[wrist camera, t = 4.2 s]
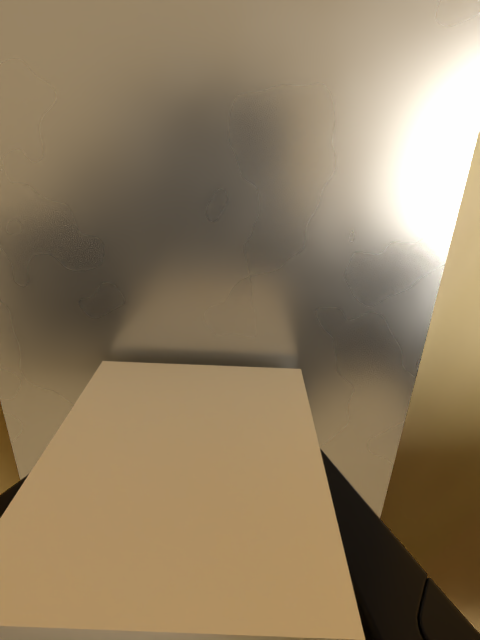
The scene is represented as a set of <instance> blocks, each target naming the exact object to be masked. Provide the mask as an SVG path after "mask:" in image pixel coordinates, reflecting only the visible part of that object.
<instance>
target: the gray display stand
mask: <svg viewBox="0 0 480 640" xmlns="http://www.w3.org/2000/svg"><path fill="white" fill-rule="evenodd" d="M479 128H480V0H0V402H1V406H2V410H3V414H4V418H5V421H6V425H7V429H8V433H9V437H10V441H11V445H12V449H13V453H14V457H15V461H16V465H17V469H18V473H19V477H20V480H21V479H23V478H24V477H25V476H27V475H28V474H29V473H30V472H31V470H32V469H33V467H34V466H35V464H36V463H37V461H38V460H39V458H40V457H41V455H42V453H43V452H44V450H45V449H46V447H47V446H48V444H49V443H50V441H51V440H52V438H53V437H54V435H55V433H56V432H57V430H58V429H59V427H60V426H61V424H62V423H63V421H64V420H65V418H66V417H67V415H68V413H69V412H70V410H71V409H72V407H73V406H74V404H75V403H76V401H77V400H78V398H79V397H80V395H81V393H82V392H83V390H84V389H85V387H86V386H87V384H88V383H89V381H90V380H91V378H92V377H93V375H94V373H95V372H96V370H97V369H98V367H99V366H100V364H101V363H102V361H114V362H139V363H165V364H190V365H215V366H241V367H266V368H291V369H301V371H302V375H303V380H304V384H305V388H306V392H307V396H308V401H309V405H310V409H311V413H312V417H313V422H314V426H315V430H316V434H317V439H318V443H319V447H320V448H321V450H322V451H323V452H324V453H325V454H326V455H327V457H328V458H329V459H330V460H331V461H332V463H333V464H334V465H335V466H336V467H337V468H338V470H339V471H340V472H341V473H342V474H343V475H344V477H345V478H346V479H347V480H348V481H349V483H350V484H351V485H352V486H353V487H354V488H355V490H356V491H357V492H358V493H359V494H360V495H361V497H362V498H363V499H364V500H365V501H366V503H367V504H368V505H369V506H370V507H371V508H372V510H373V511H374V512H375V513H376V514H377V516H378V517H379V518H380V517H381V513H382V509H383V505H384V501H385V497H386V493H387V489H388V485H389V481H390V478H391V474H392V470H393V466H394V462H395V458H396V454H397V450H398V446H399V442H400V438H401V434H402V430H403V427H404V423H405V419H406V415H407V411H408V407H409V403H410V399H411V395H412V391H413V387H414V383H415V379H416V376H417V372H418V368H419V364H420V360H421V356H422V352H423V348H424V344H425V340H426V336H427V332H428V328H429V325H430V321H431V317H432V313H433V309H434V305H435V301H436V297H437V293H438V289H439V285H440V281H441V277H442V274H443V270H444V266H445V262H446V258H447V254H448V250H449V246H450V242H451V238H452V234H453V230H454V226H455V223H456V219H457V215H458V211H459V207H460V203H461V199H462V195H463V191H464V187H465V183H466V179H467V175H468V172H469V168H470V164H471V160H472V156H473V152H474V148H475V144H476V140H477V136H478V132H479Z"/></svg>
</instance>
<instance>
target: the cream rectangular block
mask: <svg viewBox="0 0 480 640" xmlns="http://www.w3.org/2000/svg"><path fill="white" fill-rule="evenodd" d="M0 640H365V636H364V632H363V628H362V624H361V619H360V615H359V611H358V607H357V603H356V598H355V594H354V590H353V586H352V582H351V577H350V573H349V569H348V565H347V560H346V556H345V552H344V548H343V544H342V539H341V535H340V531H339V527H338V523H337V518H336V514H335V510H334V506H333V502H332V497H331V493H330V489H329V485H328V481H327V476H326V472H325V468H324V464H323V460H322V455H321V451H320V447H319V443H318V439H317V434H316V430H315V426H314V422H313V417H312V413H311V409H310V405H309V401H308V396H307V392H306V388H305V384H304V380H303V375H302V371H301V369H291V368H266V367H241V366H215V365H190V364H165V363H139V362H114V361H102V363H101V364H100V366H99V367H98V369H97V370H96V372H95V373H94V375H93V377H92V378H91V380H90V381H89V383H88V384H87V386H86V387H85V389H84V390H83V392H82V393H81V395H80V397H79V398H78V400H77V401H76V403H75V404H74V406H73V407H72V409H71V410H70V412H69V413H68V415H67V417H66V418H65V420H64V421H63V423H62V424H61V426H60V427H59V429H58V430H57V432H56V433H55V435H54V437H53V438H52V440H51V441H50V443H49V444H48V446H47V447H46V449H45V450H44V452H43V453H42V455H41V457H40V458H39V460H38V461H37V463H36V464H35V466H34V467H33V469H32V470H31V472H30V473H29V475H28V477H27V478H26V480H25V481H24V483H23V484H22V486H21V487H20V489H19V490H18V492H17V493H16V495H15V497H14V498H13V500H12V501H11V503H10V504H9V506H8V507H7V509H6V510H5V512H4V513H3V515H2V517H1V518H0Z"/></svg>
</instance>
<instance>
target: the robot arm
mask: <svg viewBox="0 0 480 640" xmlns="http://www.w3.org/2000/svg"><path fill="white" fill-rule="evenodd" d="M320 451H321V455H322V460H323V464H324V468H325V472H326V476H327V481H328V485H329V489H330V493H331V497H332V502H333V506H334V510H335V514H336V518H337V523H338V527H339V531H340V535H341V539H342V544H343V548H344V552H345V556H346V560H347V565H348V569H349V573H350V577H351V582H352V586H353V590H354V594H355V598H356V603H357V607H358V611H359V615H360V619H361V624H362V628H363V632H364V636H365V640H480V633H479V632H478V631H477V630H476V629H475V628H474V627H473V626H472V625H471V624H470V622H469V621H468V620H467V619H466V618H465V617H464V616H463V615H462V613H461V612H460V611H459V610H458V609H457V608H456V607H455V606H454V604H453V603H452V602H451V601H450V600H449V599H448V598H447V596H446V595H445V594H444V593H443V592H442V591H441V589H440V588H439V587H438V586H437V585H436V584H435V582H434V581H433V580H432V579H431V578H427V573H426V572H425V571H424V570H423V568H422V567H421V566H420V565H419V564H418V563H417V561H416V560H415V559H414V558H413V557H412V556H411V554H410V553H409V552H408V551H407V550H406V548H405V547H404V546H403V545H402V544H401V543H400V541H399V540H398V539H397V538H396V537H395V536H394V534H393V533H392V532H391V531H390V530H389V528H388V527H387V526H386V525H385V524H384V523H383V521H382V520H381V519H380V518H379V517H378V516H377V514H376V513H375V512H374V511H373V510H372V508H371V507H370V506H369V505H368V504H367V503H366V501H365V500H364V499H363V498H362V497H361V495H360V494H359V493H358V492H357V491H356V490H355V488H354V487H353V486H352V485H351V484H350V483H349V481H348V480H347V479H346V478H345V477H344V475H343V474H342V473H341V472H340V471H339V470H338V468H337V467H336V466H335V465H334V464H333V463H332V461H331V460H330V459H329V458H328V457H327V455H326V454H325V453H324V452H323V451H322V450H321V448H320ZM28 475H29V474H28ZM28 475H27V476H25V477H24V478H23V479H21V480H20V481H19V482H17V483H16V484H15V485H13V486H12V487H11V488H9V489H8V490H7V491H5V492H4V493H3V494H1V495H0V518H1V517H2V515H3V513H4V512H5V510H6V509H7V507H8V506H9V504H10V503H11V501H12V500H13V498H14V497H15V495H16V493H17V492H18V490H19V489H20V487H21V486H22V484H23V483H24V481H25V480H26V478H27V477H28Z"/></svg>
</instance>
